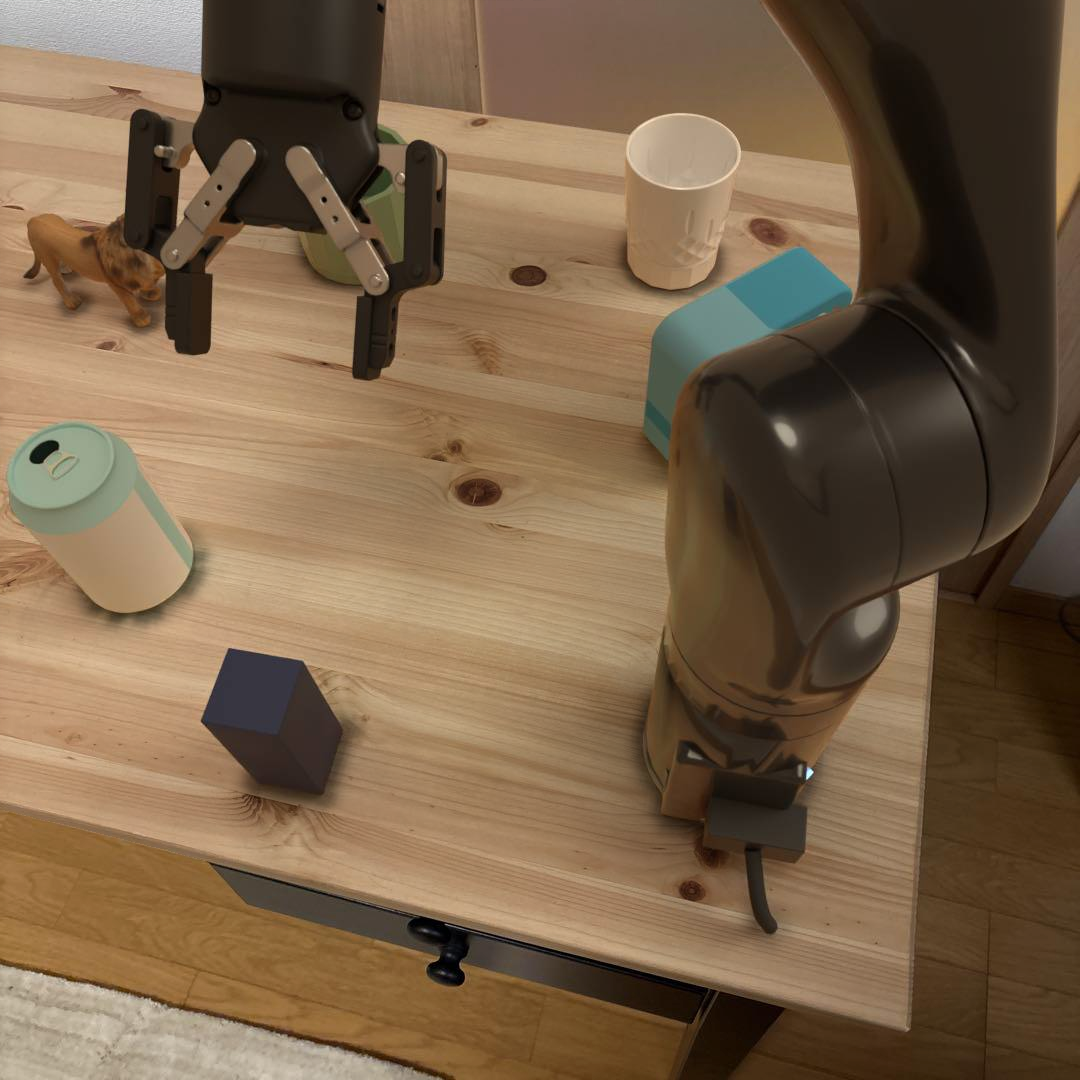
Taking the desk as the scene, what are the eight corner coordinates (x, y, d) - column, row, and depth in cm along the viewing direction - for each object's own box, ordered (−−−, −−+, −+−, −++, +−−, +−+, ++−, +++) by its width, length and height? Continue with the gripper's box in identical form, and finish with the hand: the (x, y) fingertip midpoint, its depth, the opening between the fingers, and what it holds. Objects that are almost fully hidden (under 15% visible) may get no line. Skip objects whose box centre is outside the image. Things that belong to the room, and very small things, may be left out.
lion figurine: (215, 286, 77) (175, 192, 69) (188, 337, 75) (143, 245, 67) (42, 259, 79) (-15, 165, 71) (10, 308, 77) (-54, 216, 69)
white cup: (622, 220, 79) (628, 110, 71) (722, 224, 79) (740, 114, 70) (616, 294, 75) (622, 186, 67) (722, 299, 75) (741, 191, 66)
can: (74, 617, 63) (-24, 518, 53) (100, 522, 66) (13, 411, 56) (185, 617, 63) (109, 517, 52) (205, 521, 66) (137, 409, 56)
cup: (406, 291, 76) (391, 214, 70) (289, 277, 77) (263, 199, 71) (436, 207, 81) (424, 127, 74) (325, 194, 82) (304, 114, 75)
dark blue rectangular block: (322, 795, 57) (277, 735, 48) (256, 782, 57) (199, 721, 49) (343, 728, 59) (303, 660, 50) (278, 716, 59) (228, 647, 51)
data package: (680, 487, 66) (699, 370, 56) (639, 442, 68) (651, 320, 58) (818, 405, 70) (860, 280, 59) (775, 364, 72) (809, 236, 61)
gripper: (88, -62, 40) (90, 352, 44) (438, -31, 38) (403, 396, 42) (183, -9, 47) (176, 342, 51) (480, 18, 45) (447, 379, 49)
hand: (279, 366), depth 47 cm, fingers open, 8 cm apart
